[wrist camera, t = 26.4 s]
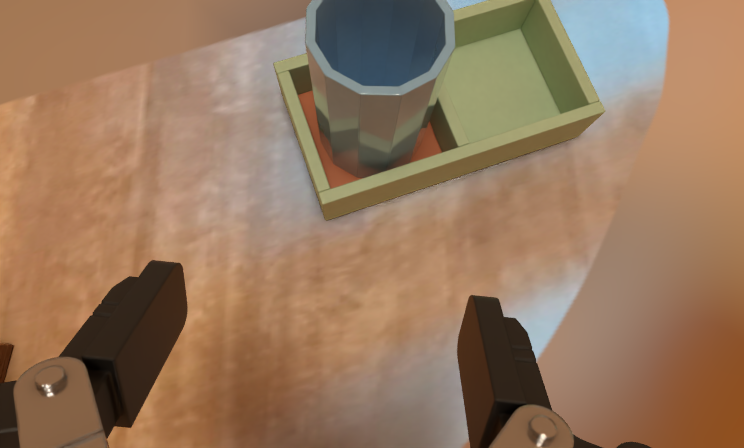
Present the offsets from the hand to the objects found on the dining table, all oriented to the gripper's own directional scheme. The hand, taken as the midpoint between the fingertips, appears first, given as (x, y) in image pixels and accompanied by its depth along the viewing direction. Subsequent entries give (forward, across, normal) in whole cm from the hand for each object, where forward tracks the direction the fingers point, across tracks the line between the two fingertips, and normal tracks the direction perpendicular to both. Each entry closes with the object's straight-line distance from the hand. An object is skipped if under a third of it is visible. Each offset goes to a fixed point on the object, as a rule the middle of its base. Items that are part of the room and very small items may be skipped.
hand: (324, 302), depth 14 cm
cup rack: (+19, -4, +1) cm, 20 cm away
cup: (+18, -1, +1) cm, 18 cm away
